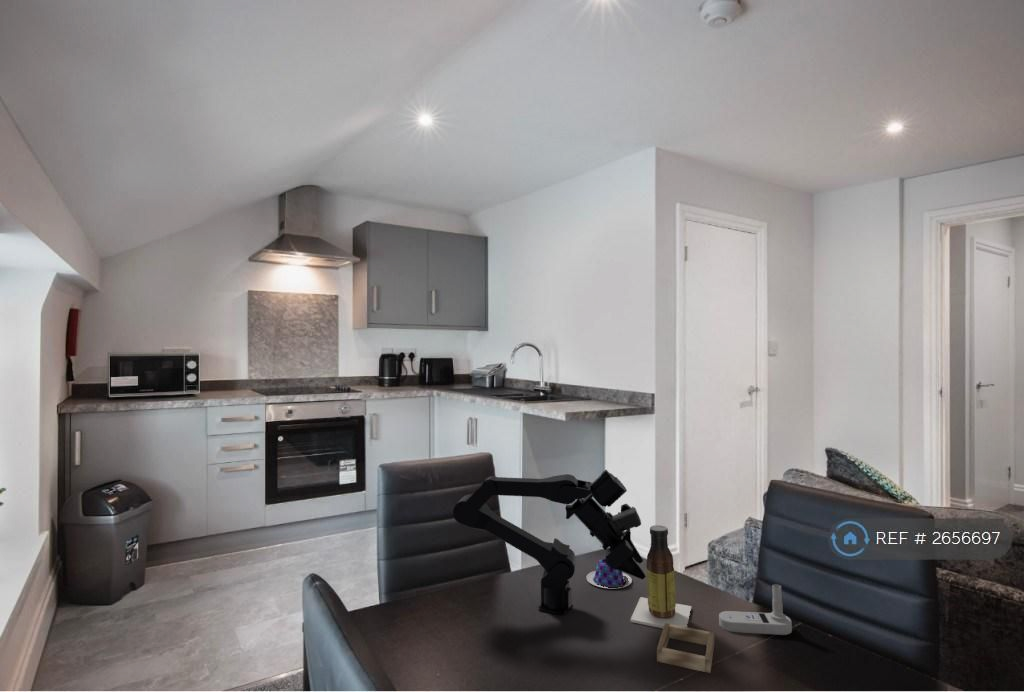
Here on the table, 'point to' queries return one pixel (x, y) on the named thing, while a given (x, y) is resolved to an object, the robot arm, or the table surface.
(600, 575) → the pudding
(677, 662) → the bottle holder
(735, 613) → the electronic device
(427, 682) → the table surface
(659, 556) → the sauce bottle
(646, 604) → the coaster
